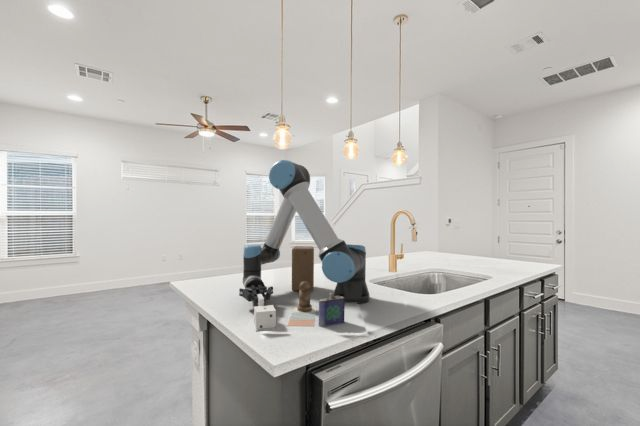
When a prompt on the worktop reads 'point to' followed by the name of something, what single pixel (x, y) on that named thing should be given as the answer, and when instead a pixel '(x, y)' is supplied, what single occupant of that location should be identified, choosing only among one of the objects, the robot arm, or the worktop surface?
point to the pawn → (304, 297)
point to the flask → (331, 310)
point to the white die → (264, 317)
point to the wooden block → (302, 266)
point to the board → (302, 318)
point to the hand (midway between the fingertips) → (261, 303)
